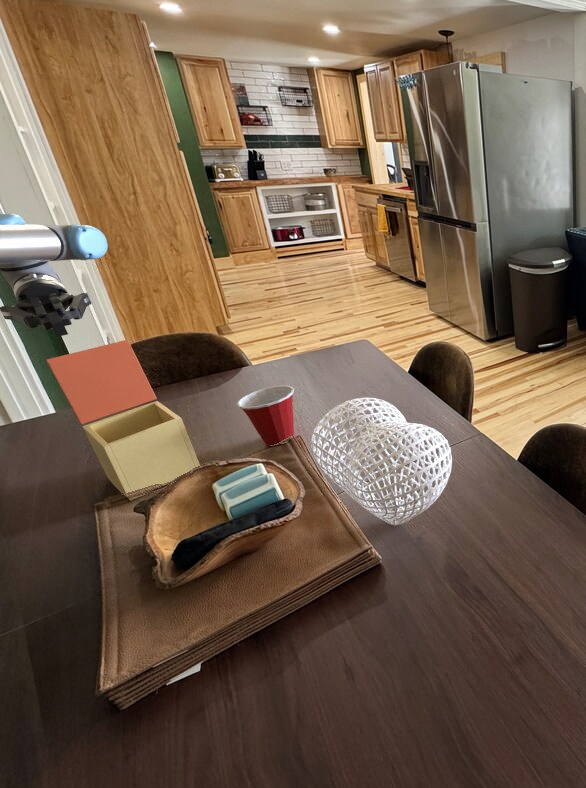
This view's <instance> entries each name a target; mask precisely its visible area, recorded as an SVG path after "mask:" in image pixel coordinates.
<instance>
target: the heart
mask: <svg viewBox="0 0 586 788" xmlns="http://www.w3.org/2000/svg"><path fill="white" fill-rule="evenodd" d="M368 404H369V405H370V406H368ZM343 409H344V410H343ZM374 410H375V411H376V412H374ZM353 411H354V412H353ZM367 411H369V412H370V414H366V413H365V412H367ZM345 414H346V415H345ZM343 418H344V419H343ZM374 418H375V419H374ZM351 420H355V421H354V422H352V421H351ZM330 421H332V422H331V423H330ZM367 421H369V422H367ZM376 422H379V423H376ZM347 423H348V426H349V427H348V428H347V427H345V424H347ZM360 423H361V424H360ZM337 426H338V427H337ZM333 428H334V429H333ZM364 428H365V429H366V430H365V431H363V429H364ZM341 429H342V431H340V430H341ZM354 430H356V431H355V432H354ZM358 433H359V434H360V435H359V436H356V435H357V434H358ZM347 434H349V435H350V437H349V438H348V435H347ZM426 434H427V435H426ZM328 436H329V438H328ZM382 436H383V437H382ZM380 437H381V438H380ZM336 438H337V440H338V441H337V444H336V442H335V439H336ZM321 439H322V440H321ZM389 439H390V440H392V441H390V440H389ZM403 440H404V443H402V442H403ZM374 441H375V442H374ZM412 441H413V442H412ZM424 441H425V442H424ZM430 441H431V443H430ZM351 443H352V444H351ZM425 443H426V444H425ZM394 444H396V445H397V446H396V447H395V446H394ZM407 444H408V445H407ZM378 445H380V447H381V448H379V449H378V448H377V446H378ZM416 445H417V446H416ZM441 446H442V447H441ZM310 447H311V452H312V455H313V457H314V461H315V462H316V463H317V465H318V467H319V468H320V469H321V471H322V472H323V473H324V475H326V476H327V477H328V478H329V479H331V481H332V482H333V483H334V484H336V485H337V486H338V487H339V488H340V489H342V491H344V492H345V493H346V494H347V495H348V496H349V497H350V498H351V499H352V500H353V501H355V502H356V503H357V504H358V505H359V506H361V507H362V508H363V509H364V510H366V511H367V512H369V513H370V514H372V515H374V516H375V517H377V518H378V519H379V520H381V521H383V522H385V523H386V524H389V525H391V526H400V525H403V524H406V523H407V522H409V521H410V520H412V519H414V518H415V517H417V516H419V515H421V514H422V513H423V512H425V511H427V509H429V508H430V507H431V506H432V505H433V504H434V503H435V502H436V501H437V500H438V498H440V496H441V494H442V493H443V491H444V489H446V486H447V485H448V482H449V479H450V476H451V472H452V468H453V467H452V466H453V465H452V464H453V457H452V449H451V446H450V443H449V441H448V439H447V438H446V437H445V436H444V435H443V434H442V433H441V432H439V431H438V430H436V429H435V428H433V427H430V426H429V425H426V424H422V423H415V422H408V421H407V419H406V417H405V416H404V415H403V413H402V412H401V411H400V410H399V409H398V408H397V407H396V406H395V405H394V404H392V403H390V402H388V401H386V400H383V399H380V398H375V397H358V398H353V399H350V400H346V401H344V402H342V403H339V404H337V405H335V406H334V407H332V408H331V409H330V410H328V412H326V414H324V416H323V417H321V419H320V420H319V422H317V424H316V426H315V428H314V430H313V432H312V434H311V439H310ZM326 447H327V450H326V449H325V448H326ZM332 447H333V449H332ZM347 447H349V449H347ZM399 448H400V449H399ZM426 448H427V449H426ZM346 449H347V451H346ZM411 449H412V450H411ZM365 450H366V451H365ZM372 450H374V451H375V452H371V451H372ZM388 450H389V451H390V452H391V453H389V452H388ZM437 450H438V455H437ZM382 452H384V453H385V454H386V456H385V455H384V454H383V453H382ZM431 452H432V453H431ZM403 454H404V455H403ZM377 455H378V457H379V458H380V459H378V460H376V458H375V457H376V456H377ZM410 455H411V456H410ZM337 456H338V457H337ZM359 457H360V458H359ZM394 457H395V458H396V459H395V460H394ZM401 458H402V459H404V460H403V461H402V460H401ZM426 458H427V460H428V461H426ZM432 458H433V461H432ZM363 460H364V462H363V463H361V462H362V461H363ZM389 460H390V461H391V463H390V461H389ZM415 461H416V463H415ZM369 462H370V463H369ZM419 464H421V466H420V465H419ZM425 464H426V465H427V466H426V465H425ZM335 465H336V466H335ZM381 465H383V466H384V467H382V468H381V467H380V466H381ZM408 465H409V466H408ZM358 468H359V469H358ZM368 468H369V470H367V469H368ZM389 468H390V470H389ZM412 468H413V469H412ZM399 469H400V473H397V470H399ZM418 469H419V471H418ZM374 470H375V471H374ZM431 470H432V473H430V471H431ZM436 470H437V472H436ZM384 471H385V472H384ZM362 472H363V473H364V475H363V477H362V475H361V473H362ZM378 473H379V476H376V474H378ZM404 473H405V474H404ZM411 473H412V474H411ZM424 474H425V478H423V475H424ZM390 477H393V482H392V483H391V478H390ZM416 477H417V480H418V481H417V480H416ZM366 479H367V480H368V482H367V481H365V480H366ZM381 481H382V483H383V486H382V487H381V485H380V483H379V482H381ZM408 483H409V485H408ZM433 483H435V484H434V486H433ZM414 485H416V486H415V487H414ZM397 486H399V487H398V488H399V489H398V490H397ZM403 486H404V487H403ZM371 487H372V489H371ZM425 487H427V489H426V491H425ZM393 488H394V490H393ZM407 489H409V490H407ZM388 490H389V492H388ZM419 490H420V491H419ZM383 491H386V494H384V492H383ZM417 491H419V492H417ZM375 494H376V495H377V496H378V498H377V497H376V495H375ZM411 494H412V495H411ZM381 503H382V504H383V505H382V504H381ZM390 504H391V505H390ZM393 509H394V510H393Z"/></svg>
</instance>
